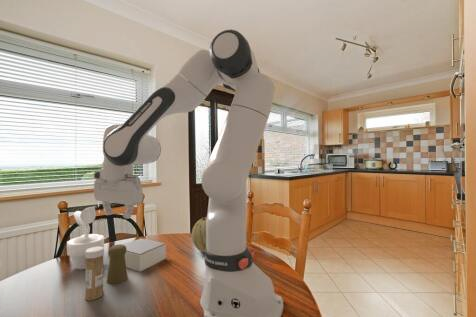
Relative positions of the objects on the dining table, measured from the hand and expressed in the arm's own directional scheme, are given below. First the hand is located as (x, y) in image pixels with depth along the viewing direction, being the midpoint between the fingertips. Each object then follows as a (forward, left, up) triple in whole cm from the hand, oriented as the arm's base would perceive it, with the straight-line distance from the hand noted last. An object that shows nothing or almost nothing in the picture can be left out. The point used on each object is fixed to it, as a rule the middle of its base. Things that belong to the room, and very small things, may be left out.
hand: (117, 216), depth 73 cm
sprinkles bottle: (-3, +9, -21) cm, 23 cm away
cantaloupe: (-13, -33, -21) cm, 41 cm away
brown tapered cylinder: (0, 0, -21) cm, 21 cm away
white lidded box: (+5, -13, -21) cm, 25 cm away
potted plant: (+20, -1, -21) cm, 29 cm away
